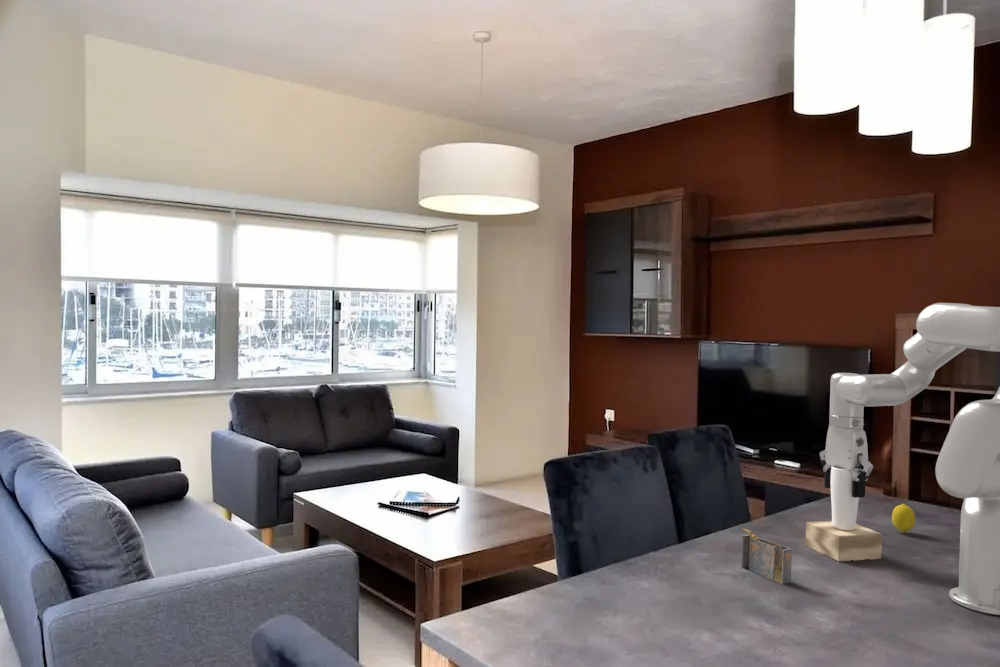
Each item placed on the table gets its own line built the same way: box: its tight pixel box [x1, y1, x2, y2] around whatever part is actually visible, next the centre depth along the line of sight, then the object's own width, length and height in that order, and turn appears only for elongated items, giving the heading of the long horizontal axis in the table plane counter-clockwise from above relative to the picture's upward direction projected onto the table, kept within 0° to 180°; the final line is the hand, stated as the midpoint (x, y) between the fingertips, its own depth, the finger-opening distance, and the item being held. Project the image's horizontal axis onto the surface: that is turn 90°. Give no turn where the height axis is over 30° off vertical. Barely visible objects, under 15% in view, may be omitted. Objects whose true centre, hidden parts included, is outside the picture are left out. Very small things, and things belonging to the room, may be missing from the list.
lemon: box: [891, 503, 916, 534], centre depth 191 cm, size 6×6×8 cm
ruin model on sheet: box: [740, 527, 793, 585], centre depth 156 cm, size 11×3×10 cm, turn 29°
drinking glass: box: [830, 466, 860, 531], centre depth 173 cm, size 7×7×15 cm
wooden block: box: [804, 520, 883, 562], centre depth 173 cm, size 12×12×6 cm
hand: (844, 492), depth 173 cm, fingers open, 9 cm apart
